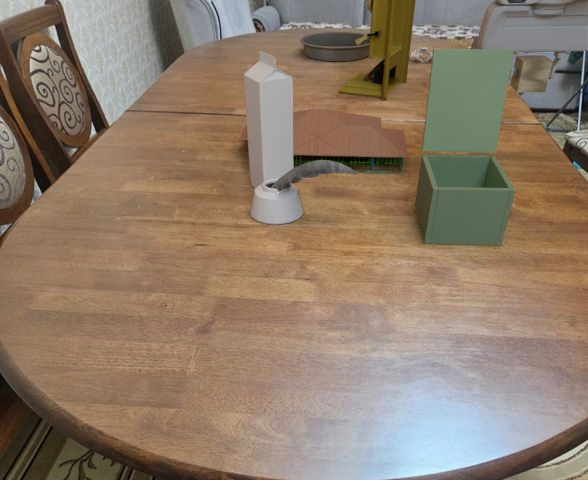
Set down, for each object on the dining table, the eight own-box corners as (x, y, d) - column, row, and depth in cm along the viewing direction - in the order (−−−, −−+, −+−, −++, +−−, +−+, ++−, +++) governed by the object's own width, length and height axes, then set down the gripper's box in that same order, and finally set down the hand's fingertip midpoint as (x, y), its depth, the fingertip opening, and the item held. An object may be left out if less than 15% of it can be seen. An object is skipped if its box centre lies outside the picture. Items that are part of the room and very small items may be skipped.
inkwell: (259, 198, 97) (256, 141, 90) (360, 209, 93) (364, 151, 86) (241, 221, 90) (237, 161, 83) (349, 235, 86) (352, 173, 79)
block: (537, 84, 102) (544, 55, 99) (545, 92, 98) (552, 61, 95) (510, 85, 102) (516, 55, 99) (516, 92, 99) (523, 62, 95)
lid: (514, 49, 80) (512, 49, 80) (434, 49, 80) (433, 49, 81) (495, 152, 87) (494, 151, 88) (422, 151, 88) (421, 150, 88)
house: (253, 130, 124) (251, 92, 119) (400, 133, 121) (404, 94, 116) (235, 169, 107) (232, 126, 101) (406, 174, 104) (411, 130, 99)
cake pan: (368, 45, 191) (369, 30, 188) (380, 62, 172) (381, 46, 169) (298, 46, 190) (297, 32, 187) (302, 63, 171) (302, 47, 168)
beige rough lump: (415, 51, 167) (409, 44, 171) (413, 66, 170) (407, 59, 174) (440, 49, 167) (434, 43, 172) (438, 64, 170) (431, 57, 175)
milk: (264, 197, 97) (257, 60, 83) (250, 185, 101) (241, 52, 87) (294, 190, 99) (292, 55, 85) (279, 178, 103) (275, 47, 89)
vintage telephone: (368, 71, 163) (377, -53, 144) (414, 76, 158) (429, -52, 139) (328, 100, 142) (332, -42, 122) (379, 106, 137) (392, -41, 118)
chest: (501, 245, 83) (515, 190, 77) (424, 243, 84) (433, 189, 78) (483, 206, 93) (494, 154, 88) (414, 204, 94) (421, 153, 88)
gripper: (607, -16, 92) (582, 73, 101) (484, -13, 93) (469, 75, 102) (622, -11, 87) (594, 82, 96) (492, -8, 89) (476, 84, 97)
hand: (529, 78), depth 99 cm, fingers closed on block, 5 cm apart
